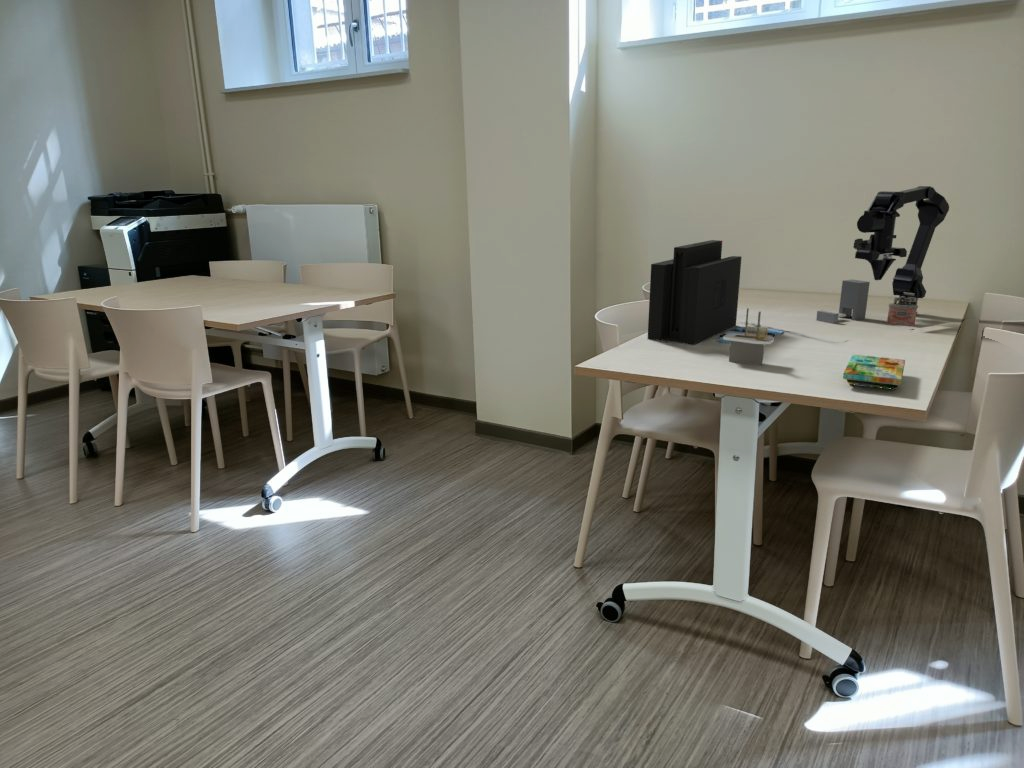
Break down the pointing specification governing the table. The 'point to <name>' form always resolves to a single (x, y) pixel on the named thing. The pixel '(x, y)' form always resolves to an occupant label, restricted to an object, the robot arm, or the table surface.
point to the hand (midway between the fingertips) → (877, 280)
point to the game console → (695, 295)
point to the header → (828, 316)
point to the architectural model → (748, 344)
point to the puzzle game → (874, 371)
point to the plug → (854, 298)
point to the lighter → (902, 311)
